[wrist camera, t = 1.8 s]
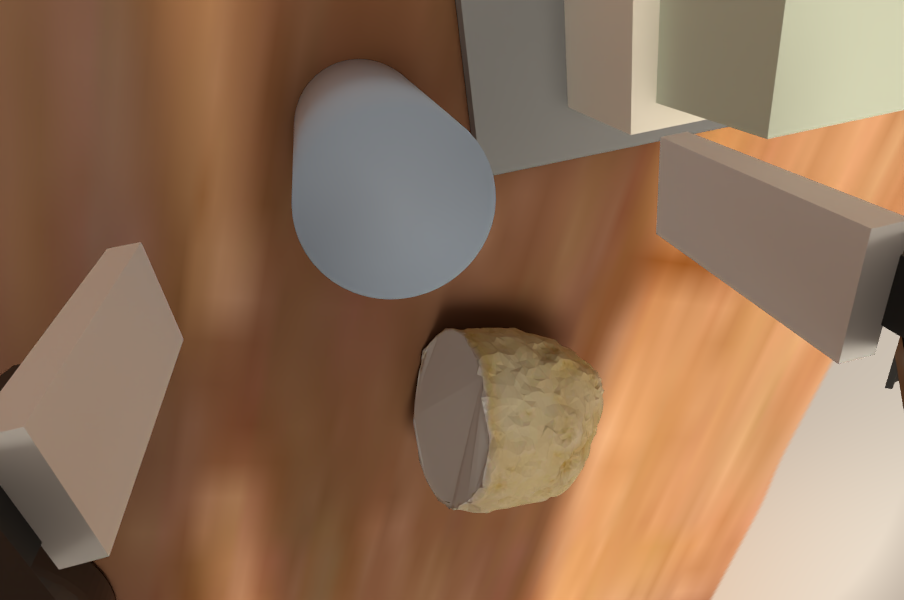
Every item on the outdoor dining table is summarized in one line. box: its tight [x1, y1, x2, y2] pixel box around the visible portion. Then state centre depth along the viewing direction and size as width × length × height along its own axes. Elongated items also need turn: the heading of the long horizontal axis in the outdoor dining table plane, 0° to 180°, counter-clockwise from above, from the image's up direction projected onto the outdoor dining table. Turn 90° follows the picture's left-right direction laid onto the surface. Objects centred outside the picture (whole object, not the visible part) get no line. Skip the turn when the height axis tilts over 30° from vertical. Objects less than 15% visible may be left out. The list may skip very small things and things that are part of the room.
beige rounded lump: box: [413, 328, 604, 513], centre depth 30 cm, size 10×10×10 cm
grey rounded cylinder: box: [292, 59, 496, 299], centre depth 22 cm, size 6×6×11 cm
